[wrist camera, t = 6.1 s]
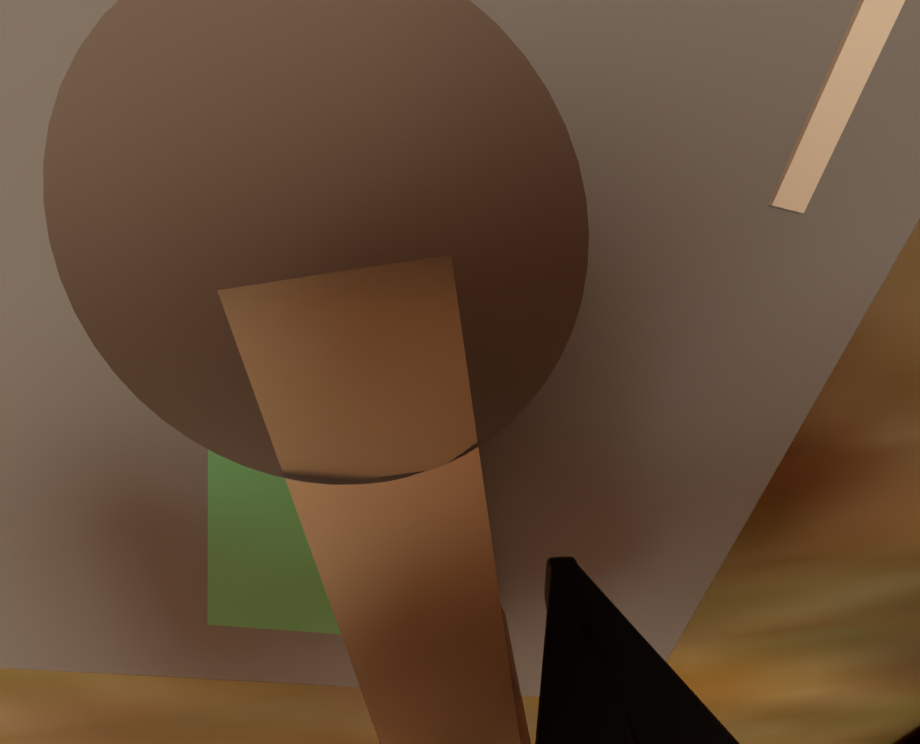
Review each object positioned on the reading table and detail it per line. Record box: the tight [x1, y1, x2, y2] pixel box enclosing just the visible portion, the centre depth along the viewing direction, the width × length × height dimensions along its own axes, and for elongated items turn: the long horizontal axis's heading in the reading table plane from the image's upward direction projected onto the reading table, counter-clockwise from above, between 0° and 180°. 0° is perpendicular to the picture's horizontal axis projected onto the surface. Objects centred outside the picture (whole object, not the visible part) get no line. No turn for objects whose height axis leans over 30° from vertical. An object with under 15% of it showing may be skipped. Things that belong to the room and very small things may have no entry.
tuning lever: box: [43, 0, 589, 744], centre depth 6 cm, size 12×4×4 cm, turn 8°
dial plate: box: [0, 0, 920, 697], centre depth 8 cm, size 18×22×2 cm
